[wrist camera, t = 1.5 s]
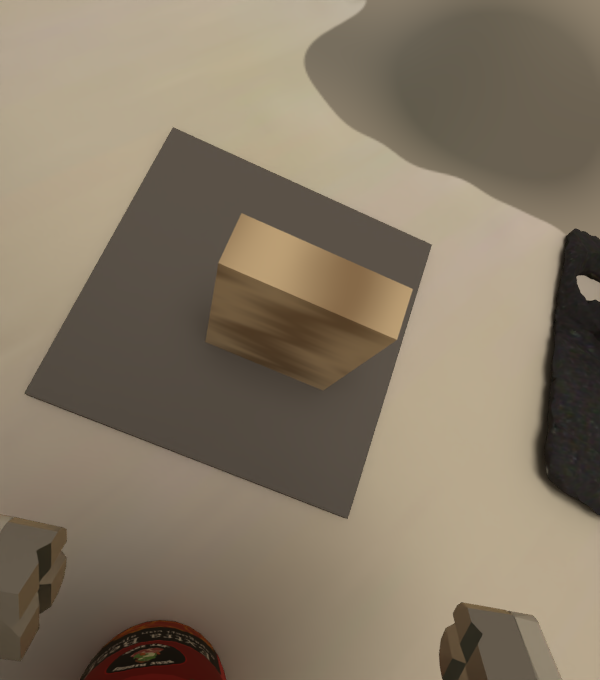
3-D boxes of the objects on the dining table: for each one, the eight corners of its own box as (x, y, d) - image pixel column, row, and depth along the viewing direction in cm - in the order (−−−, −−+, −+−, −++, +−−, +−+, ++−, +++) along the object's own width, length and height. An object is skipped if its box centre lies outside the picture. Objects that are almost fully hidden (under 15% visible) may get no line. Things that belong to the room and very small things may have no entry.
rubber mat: (26, 394, 29) (24, 393, 29) (173, 131, 36) (173, 127, 36) (345, 518, 31) (347, 518, 31) (429, 247, 38) (431, 244, 38)
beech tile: (205, 341, 32) (218, 262, 21) (220, 307, 33) (241, 213, 22) (323, 390, 33) (397, 340, 22) (335, 355, 34) (412, 289, 22)
